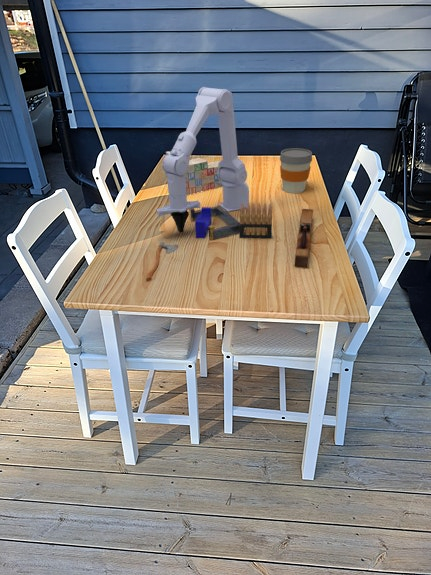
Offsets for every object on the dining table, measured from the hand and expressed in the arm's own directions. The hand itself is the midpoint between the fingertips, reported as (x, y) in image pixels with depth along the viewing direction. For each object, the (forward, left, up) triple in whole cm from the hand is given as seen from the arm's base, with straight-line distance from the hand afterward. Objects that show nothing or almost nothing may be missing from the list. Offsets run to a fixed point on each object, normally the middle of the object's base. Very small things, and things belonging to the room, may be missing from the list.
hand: (180, 231), depth 144 cm
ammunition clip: (-21, +14, -1) cm, 25 cm away
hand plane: (-33, +24, -2) cm, 41 cm away
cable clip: (-8, 0, -2) cm, 8 cm away
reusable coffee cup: (-56, -15, -1) cm, 58 cm away
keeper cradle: (-13, 0, -1) cm, 13 cm away
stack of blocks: (-24, -35, -1) cm, 42 cm away
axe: (+11, +14, -2) cm, 18 cm away
